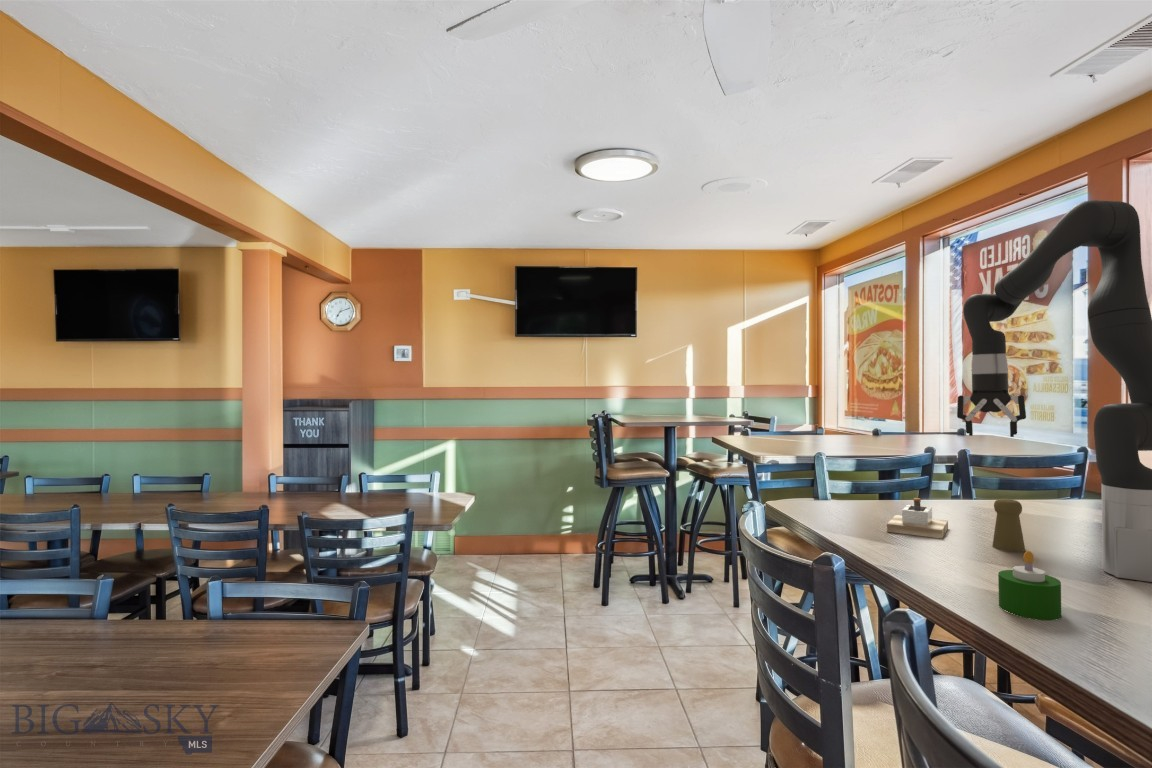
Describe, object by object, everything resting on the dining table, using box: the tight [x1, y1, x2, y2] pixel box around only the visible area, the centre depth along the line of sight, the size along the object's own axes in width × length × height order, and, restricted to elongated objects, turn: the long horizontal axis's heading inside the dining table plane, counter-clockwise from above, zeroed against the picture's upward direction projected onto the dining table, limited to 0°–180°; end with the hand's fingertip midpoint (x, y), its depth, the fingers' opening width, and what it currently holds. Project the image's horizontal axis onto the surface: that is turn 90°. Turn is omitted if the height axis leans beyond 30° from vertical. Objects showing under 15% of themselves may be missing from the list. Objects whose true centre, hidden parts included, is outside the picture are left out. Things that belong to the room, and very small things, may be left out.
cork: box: [992, 498, 1026, 553], centre depth 134 cm, size 6×6×11 cm
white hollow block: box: [901, 504, 933, 527], centre depth 151 cm, size 8×6×4 cm
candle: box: [997, 550, 1062, 621], centre depth 98 cm, size 8×8×10 cm
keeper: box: [886, 497, 949, 539], centre depth 151 cm, size 12×12×8 cm
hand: (991, 436), depth 149 cm, fingers open, 8 cm apart
